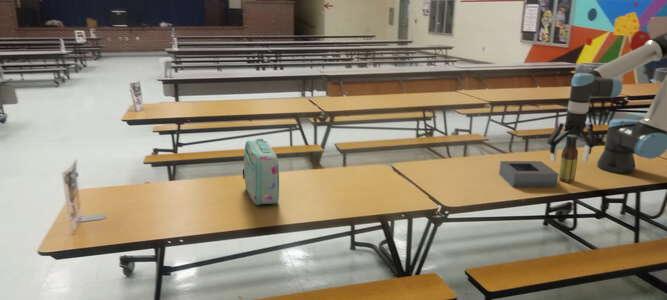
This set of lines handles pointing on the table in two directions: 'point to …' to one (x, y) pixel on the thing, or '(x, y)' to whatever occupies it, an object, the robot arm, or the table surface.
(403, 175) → the table surface
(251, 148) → the lunch box
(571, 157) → the sauce bottle
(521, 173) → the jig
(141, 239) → the table surface
